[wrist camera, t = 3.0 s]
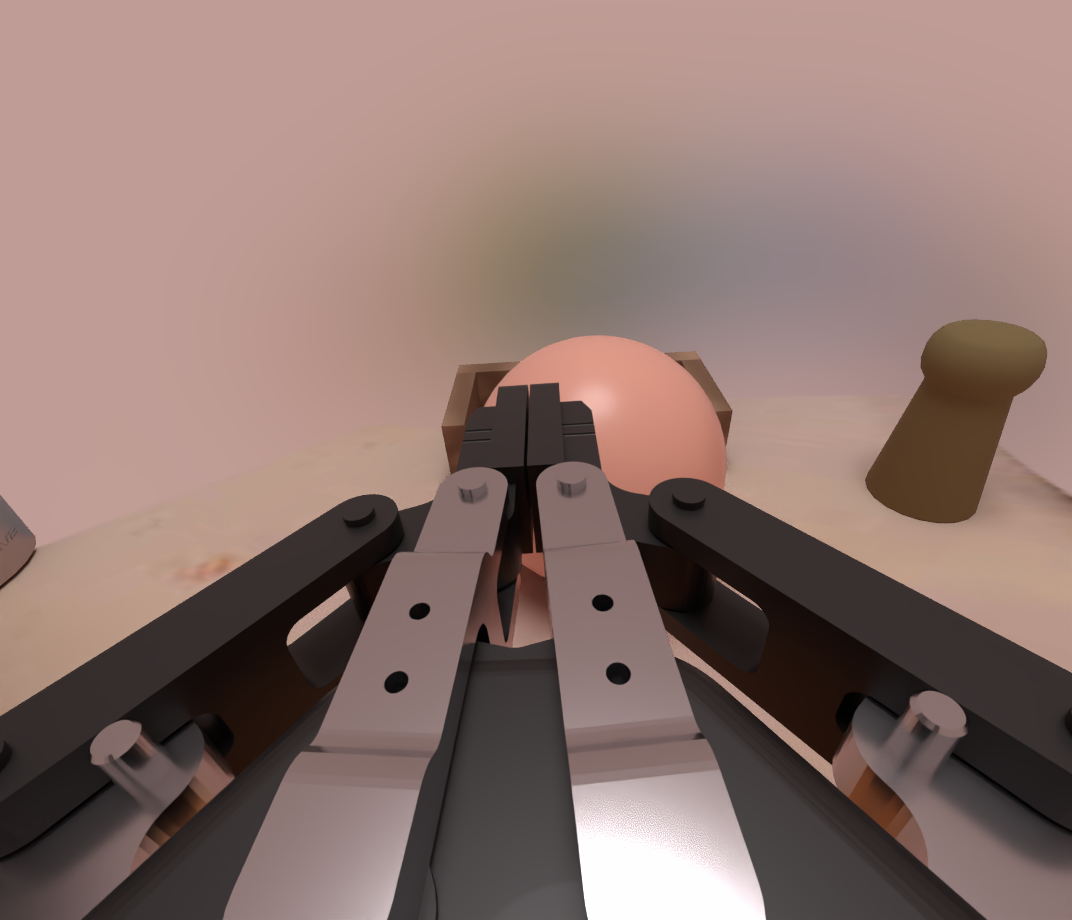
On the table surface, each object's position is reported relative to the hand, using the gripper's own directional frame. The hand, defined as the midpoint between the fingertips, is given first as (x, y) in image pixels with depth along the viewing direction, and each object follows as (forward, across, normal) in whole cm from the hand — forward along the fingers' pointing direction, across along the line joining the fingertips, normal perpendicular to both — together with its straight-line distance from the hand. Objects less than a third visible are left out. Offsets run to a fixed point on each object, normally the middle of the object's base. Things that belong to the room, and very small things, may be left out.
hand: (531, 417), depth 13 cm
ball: (+11, -2, +9) cm, 15 cm away
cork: (+15, -24, +16) cm, 32 cm away
